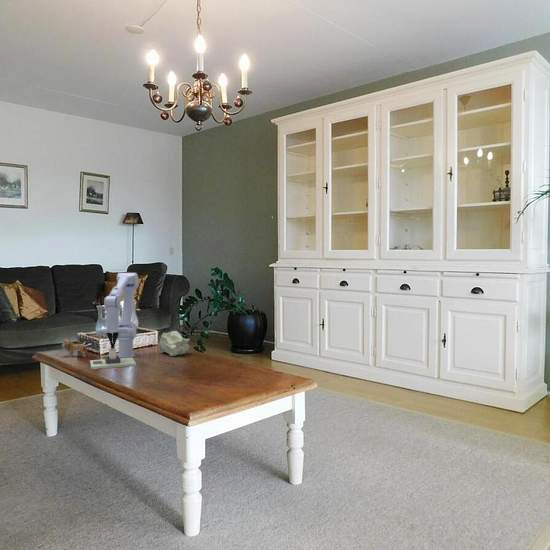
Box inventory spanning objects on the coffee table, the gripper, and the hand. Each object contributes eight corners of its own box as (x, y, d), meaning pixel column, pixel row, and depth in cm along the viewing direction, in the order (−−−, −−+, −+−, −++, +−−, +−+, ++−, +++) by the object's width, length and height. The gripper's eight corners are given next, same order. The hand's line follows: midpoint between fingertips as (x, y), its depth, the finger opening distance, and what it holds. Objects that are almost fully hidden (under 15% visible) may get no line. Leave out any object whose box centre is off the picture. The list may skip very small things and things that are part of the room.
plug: (109, 360, 239) (108, 348, 238) (115, 360, 240) (115, 347, 240) (109, 363, 234) (109, 350, 234) (116, 362, 235) (116, 349, 235)
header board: (90, 362, 240) (90, 356, 240) (132, 359, 248) (132, 353, 247) (91, 369, 226) (91, 362, 226) (135, 365, 234) (135, 359, 234)
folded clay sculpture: (183, 366, 262) (195, 342, 260) (163, 364, 253) (176, 338, 251) (168, 349, 274) (180, 325, 272) (149, 345, 265) (161, 321, 263)
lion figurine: (60, 357, 252) (60, 340, 252) (64, 355, 257) (64, 338, 257) (88, 357, 252) (88, 340, 252) (92, 355, 258) (92, 338, 257)
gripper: (96, 322, 230) (97, 350, 230) (128, 320, 235) (129, 348, 236) (96, 320, 236) (96, 348, 237) (127, 319, 242) (127, 346, 242)
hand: (112, 348), depth 237 cm, fingers closed
